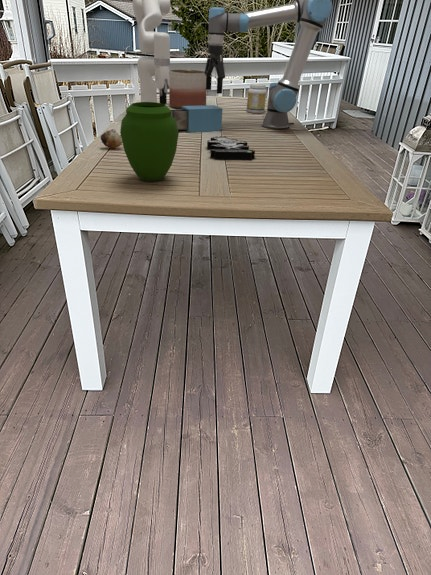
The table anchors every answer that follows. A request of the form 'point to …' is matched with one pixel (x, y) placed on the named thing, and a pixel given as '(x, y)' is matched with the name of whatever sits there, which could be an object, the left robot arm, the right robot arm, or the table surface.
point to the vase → (149, 139)
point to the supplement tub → (256, 98)
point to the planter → (187, 88)
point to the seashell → (111, 139)
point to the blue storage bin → (204, 118)
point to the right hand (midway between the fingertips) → (213, 91)
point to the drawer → (180, 118)
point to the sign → (229, 149)
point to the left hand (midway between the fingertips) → (163, 103)
